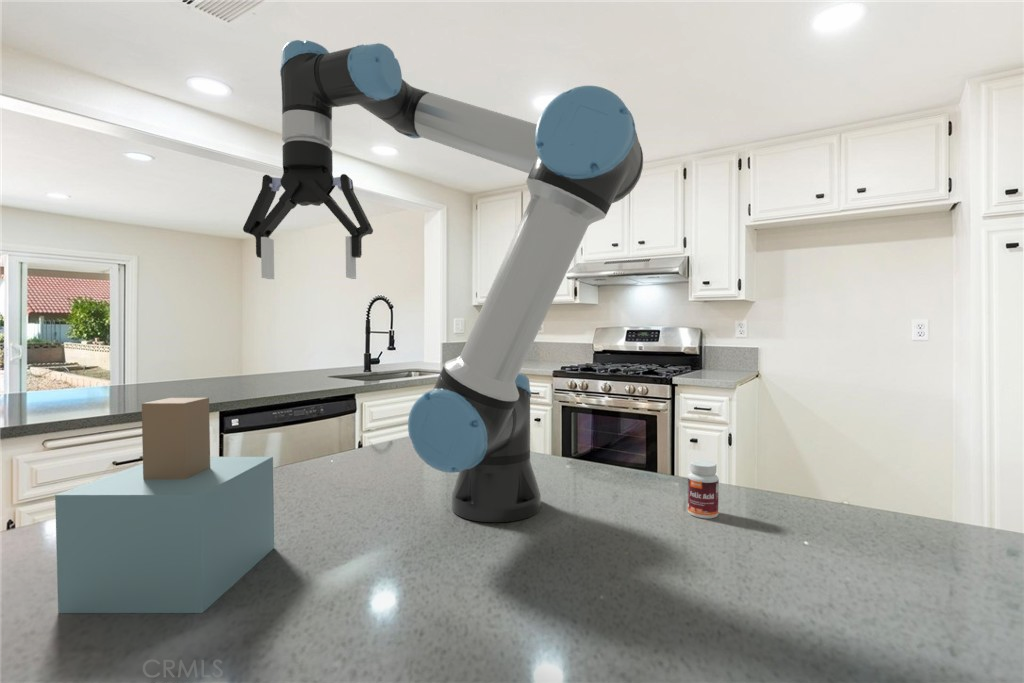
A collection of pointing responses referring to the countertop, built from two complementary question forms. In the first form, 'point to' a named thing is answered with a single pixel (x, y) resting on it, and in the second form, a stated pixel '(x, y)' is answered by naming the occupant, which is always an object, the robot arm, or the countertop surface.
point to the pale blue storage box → (164, 522)
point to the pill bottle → (703, 489)
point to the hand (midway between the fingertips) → (309, 278)
